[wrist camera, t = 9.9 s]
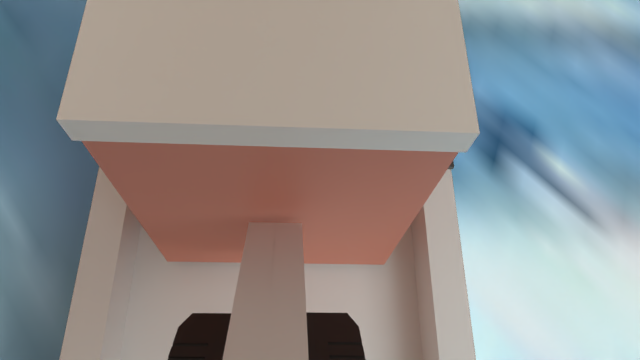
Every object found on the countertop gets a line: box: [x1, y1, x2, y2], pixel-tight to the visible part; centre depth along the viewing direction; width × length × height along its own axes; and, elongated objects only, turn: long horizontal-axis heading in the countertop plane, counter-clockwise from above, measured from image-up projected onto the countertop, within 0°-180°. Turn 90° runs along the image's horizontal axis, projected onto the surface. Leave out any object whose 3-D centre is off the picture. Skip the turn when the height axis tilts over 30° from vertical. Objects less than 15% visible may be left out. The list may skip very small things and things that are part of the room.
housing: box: [59, 161, 476, 360], centre depth 17 cm, size 22×13×8 cm, turn 0°
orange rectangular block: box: [56, 0, 480, 265], centre depth 15 cm, size 5×8×10 cm, turn 90°
